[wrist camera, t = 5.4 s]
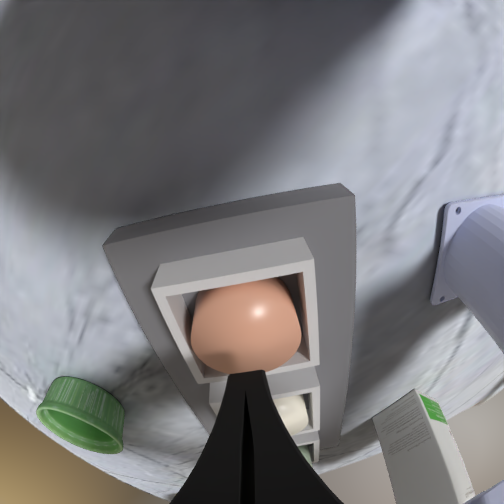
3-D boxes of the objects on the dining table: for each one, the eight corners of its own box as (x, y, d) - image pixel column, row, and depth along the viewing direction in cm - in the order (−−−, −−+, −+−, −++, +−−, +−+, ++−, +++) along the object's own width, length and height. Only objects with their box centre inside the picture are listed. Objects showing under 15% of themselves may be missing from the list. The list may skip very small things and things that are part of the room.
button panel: (340, 183, 14) (373, 211, 11) (334, 431, 28) (342, 460, 24) (115, 228, 14) (85, 267, 11) (231, 448, 28) (232, 477, 24)
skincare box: (437, 399, 28) (478, 493, 14) (397, 426, 30) (429, 519, 16) (414, 386, 25) (463, 506, 11) (366, 418, 27) (401, 534, 13)
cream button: (300, 373, 18) (307, 403, 16) (304, 408, 20) (309, 433, 18) (226, 385, 18) (227, 415, 16) (241, 418, 20) (243, 443, 18)
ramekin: (78, 417, 25) (69, 447, 21) (34, 368, 20) (19, 401, 17) (143, 423, 25) (138, 459, 21) (103, 373, 20) (90, 415, 17)
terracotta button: (286, 258, 14) (296, 289, 11) (296, 333, 16) (304, 365, 14) (182, 278, 14) (175, 310, 12) (210, 348, 16) (208, 380, 14)
